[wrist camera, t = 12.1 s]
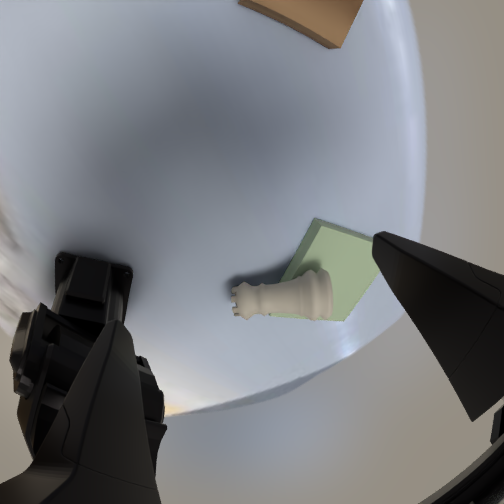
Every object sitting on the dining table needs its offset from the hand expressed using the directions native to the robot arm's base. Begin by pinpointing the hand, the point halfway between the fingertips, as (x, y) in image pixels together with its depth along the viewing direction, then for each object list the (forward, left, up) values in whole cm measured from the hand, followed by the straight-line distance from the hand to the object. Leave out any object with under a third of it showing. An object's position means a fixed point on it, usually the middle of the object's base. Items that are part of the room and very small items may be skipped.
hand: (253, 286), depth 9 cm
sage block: (-6, -15, -13) cm, 21 cm away
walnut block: (+15, -1, -12) cm, 20 cm away
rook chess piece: (-6, -12, -8) cm, 16 cm away
